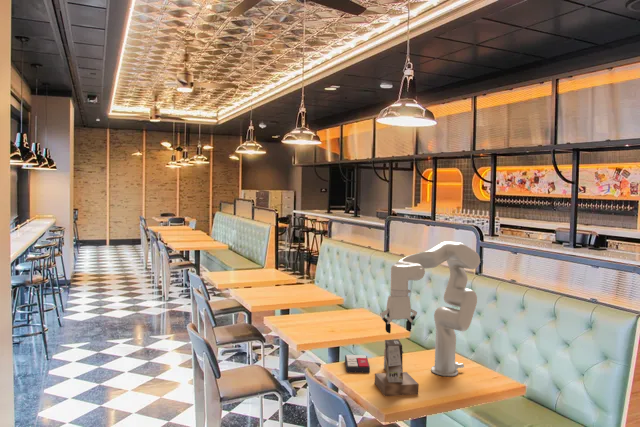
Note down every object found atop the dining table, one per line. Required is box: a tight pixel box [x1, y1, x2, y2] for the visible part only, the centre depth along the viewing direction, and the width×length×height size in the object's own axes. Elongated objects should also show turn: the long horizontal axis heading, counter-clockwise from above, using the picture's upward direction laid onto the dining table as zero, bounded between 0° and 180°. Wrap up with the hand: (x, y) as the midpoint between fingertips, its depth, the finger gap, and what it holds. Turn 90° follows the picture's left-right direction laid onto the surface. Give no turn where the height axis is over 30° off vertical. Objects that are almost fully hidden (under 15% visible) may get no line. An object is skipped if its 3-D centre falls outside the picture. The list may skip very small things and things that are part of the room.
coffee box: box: [384, 338, 404, 383], centre depth 211 cm, size 9×6×16 cm
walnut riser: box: [374, 371, 419, 397], centre depth 212 cm, size 15×14×5 cm
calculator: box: [344, 354, 371, 374], centre depth 238 cm, size 11×4×15 cm
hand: (398, 331), depth 211 cm, fingers open, 9 cm apart
